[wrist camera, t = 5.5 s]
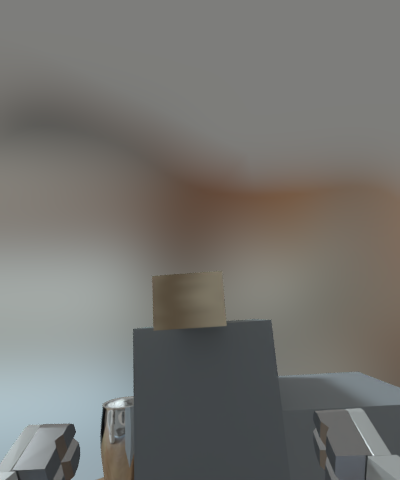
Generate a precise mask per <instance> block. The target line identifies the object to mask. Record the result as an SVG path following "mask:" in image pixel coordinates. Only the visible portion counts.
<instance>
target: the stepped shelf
mask: <svg viewBox="0 0 400 480" xmlns="http://www.w3.org/2000/svg"><path fill="white" fill-rule="evenodd" d="M226 323H227V326H218V327H203V328H187V329H172V330H156V331H154V327H145V328H137V329H133V358H134V359H133V363H134V364H133V368H134V480H325V470H324V469H323V468H322V467H321V466H320V465H319V462H318V459H317V456H316V453H315V448H314V442H313V431H314V430H315V428H316V427H315V424H314V421H313V413H314V411H322V410H338V409H344V410H345V409H355V408H361V409H363V410H364V411H365V413H366V415H367V416H368V418H369V419H370V421H371V423H372V424H373V426H374V427H375V429H376V431H377V432H378V434H379V435H380V437H381V439H382V440H383V442H384V443H385V445H386V446H387V448H388V450H389V451H390V453H391V454H392V455H398V456H399V457H400V388H399V387H396V386H393V385H391V384H388V383H386V382H383V381H380V380H378V379H375V378H373V377H370V376H368V375H365V374H363V373H360V372H345V373H328V374H310V375H290V376H278V373H277V365H276V356H275V348H274V340H273V331H272V323H271V320H258V319H257V320H256V319H252V320H236V321H226Z"/></svg>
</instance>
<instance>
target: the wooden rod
mask: <svg viewBox="0 0 400 480" xmlns="http://www.w3.org/2000/svg"><path fill="white" fill-rule="evenodd" d="M152 283H153V327H154V331H156V330H172V329H187V328H203V327H218V326H227V323H226V311H225V299H224V288H223V275H222V271H214V272H201V273H187V274H174V275H160V276H153V277H152Z"/></svg>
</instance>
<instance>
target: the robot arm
mask: <svg viewBox="0 0 400 480" xmlns="http://www.w3.org/2000/svg"><path fill="white" fill-rule="evenodd" d="M313 421H314V424H315V427H316V428H315V430H314V431H313V442H314V448H315V453H316V456H317V459H318V462H319V465H320V466H321V467H322V468H323V469H324V470H325V480H400V457H399V456H398V455H392V454H391V453H390V451H389V450H388V448H387V446H386V445H385V443H384V442H383V440H382V439H381V437H380V435H379V434H378V432H377V431H376V429H375V427H374V426H373V424H372V423H371V421H370V419H369V418H368V416H367V415H366V413H365V411H364V410H363V409H361V408H355V409H345V410H344V409H338V410H322V411H314V413H313ZM75 433H76V431H75V427H74V425H73V424H43V425H29V426H27V427H26V428H25V429H24V430H23V431H22V433H21V434H20V436H19V437H18V439H17V440H16V442H15V443H14V444H13V446H12V447H11V449H10V450H9V452H8V453H7V455H6V456H5V457H4V459H3V460H2V462H1V463H0V480H71V479H72V478H73V477H74V475H75V473H76V470H77V468H78V464H79V459H80V447H79V443H78V442H77V441H76V440H75V439H74V438H73V437H74V435H75Z"/></svg>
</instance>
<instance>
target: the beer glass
mask: <svg viewBox="0 0 400 480" xmlns="http://www.w3.org/2000/svg"><path fill="white" fill-rule="evenodd" d="M102 406H103V407H102V408H103V409H102V418H101V433H100V448H101V458H102V465H103V472H104V479H105V480H134V396H131V397H122V398H117V399H112V400H109V401H107V402H105V403H104V404H103V405H102Z"/></svg>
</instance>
